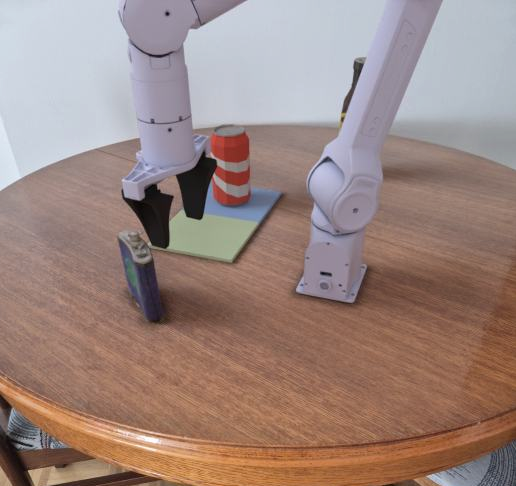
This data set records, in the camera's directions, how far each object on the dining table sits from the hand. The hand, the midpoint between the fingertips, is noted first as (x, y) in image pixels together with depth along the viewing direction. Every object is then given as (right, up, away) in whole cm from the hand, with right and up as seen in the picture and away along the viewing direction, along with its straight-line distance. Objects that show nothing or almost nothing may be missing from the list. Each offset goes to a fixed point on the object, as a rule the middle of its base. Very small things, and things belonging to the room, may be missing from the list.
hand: (178, 231), depth 66 cm
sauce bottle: (+27, +18, +37) cm, 49 cm away
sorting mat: (+3, +7, +24) cm, 25 cm away
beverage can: (+5, +11, +28) cm, 31 cm away
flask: (-5, -8, +7) cm, 12 cm away
